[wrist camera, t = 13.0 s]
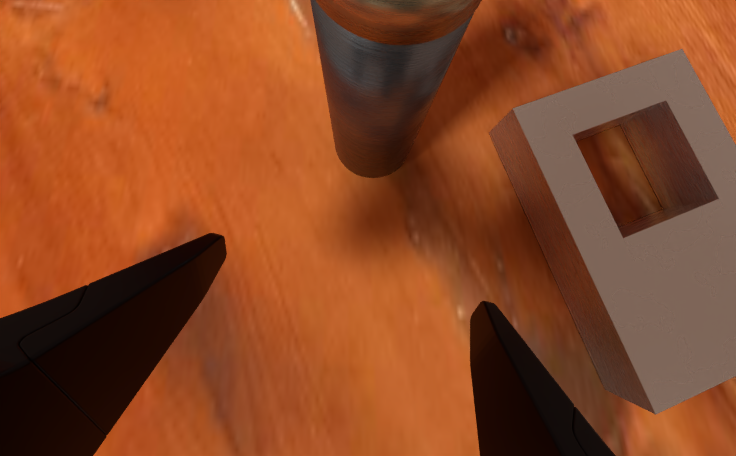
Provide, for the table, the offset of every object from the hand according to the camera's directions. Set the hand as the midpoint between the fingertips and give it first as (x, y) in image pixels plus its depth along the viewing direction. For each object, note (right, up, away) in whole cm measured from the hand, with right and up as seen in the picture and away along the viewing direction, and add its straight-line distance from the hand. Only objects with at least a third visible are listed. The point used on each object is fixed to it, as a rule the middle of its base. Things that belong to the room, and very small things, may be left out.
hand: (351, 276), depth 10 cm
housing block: (+17, +2, +9) cm, 20 cm away
